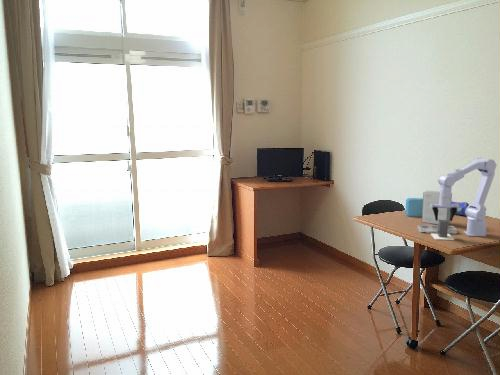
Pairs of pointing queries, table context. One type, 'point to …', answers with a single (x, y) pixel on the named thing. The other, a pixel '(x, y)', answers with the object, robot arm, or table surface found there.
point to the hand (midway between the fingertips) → (443, 220)
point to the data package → (414, 207)
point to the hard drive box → (427, 211)
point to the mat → (442, 237)
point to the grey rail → (436, 229)
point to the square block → (442, 228)
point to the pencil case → (461, 207)
